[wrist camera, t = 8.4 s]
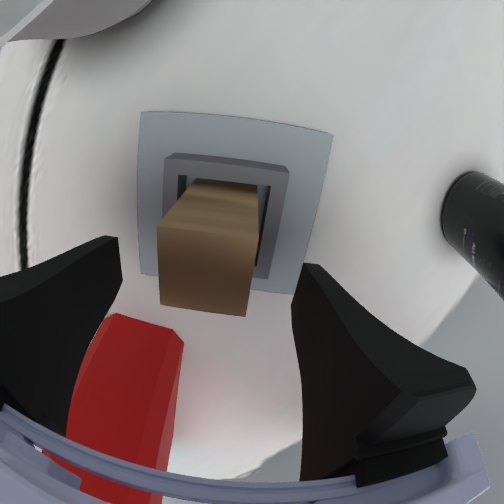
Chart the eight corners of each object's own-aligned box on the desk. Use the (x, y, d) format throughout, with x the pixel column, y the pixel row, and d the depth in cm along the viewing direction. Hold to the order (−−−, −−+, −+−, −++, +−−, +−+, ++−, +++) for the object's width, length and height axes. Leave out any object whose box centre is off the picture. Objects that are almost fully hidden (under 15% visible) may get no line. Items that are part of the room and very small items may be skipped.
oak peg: (248, 239, 17) (245, 316, 11) (193, 232, 17) (160, 304, 11) (257, 185, 15) (258, 239, 9) (196, 177, 15) (156, 226, 9)
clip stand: (292, 286, 20) (297, 313, 17) (145, 266, 19) (131, 289, 16) (328, 133, 14) (344, 138, 12) (147, 111, 14) (125, 112, 11)
